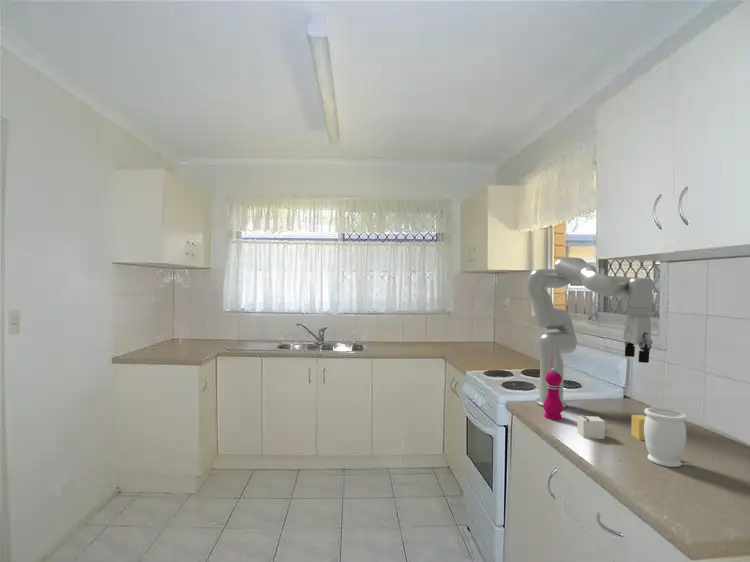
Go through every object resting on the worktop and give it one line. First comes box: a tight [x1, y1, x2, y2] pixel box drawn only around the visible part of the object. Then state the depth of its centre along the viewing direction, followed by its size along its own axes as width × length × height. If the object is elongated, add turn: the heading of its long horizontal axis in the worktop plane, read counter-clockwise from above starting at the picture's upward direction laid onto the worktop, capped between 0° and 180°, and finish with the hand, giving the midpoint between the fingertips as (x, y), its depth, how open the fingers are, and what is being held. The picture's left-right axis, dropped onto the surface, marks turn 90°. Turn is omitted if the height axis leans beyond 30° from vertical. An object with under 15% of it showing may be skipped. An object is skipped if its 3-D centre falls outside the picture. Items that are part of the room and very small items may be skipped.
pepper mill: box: [542, 368, 564, 421], centre depth 168 cm, size 7×7×20 cm
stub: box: [631, 414, 646, 441], centre depth 148 cm, size 5×4×7 cm
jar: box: [644, 407, 687, 468], centre depth 129 cm, size 11×10×15 cm
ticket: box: [577, 414, 606, 440], centre depth 149 cm, size 5×7×6 cm
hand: (636, 359), depth 154 cm, fingers open, 9 cm apart
